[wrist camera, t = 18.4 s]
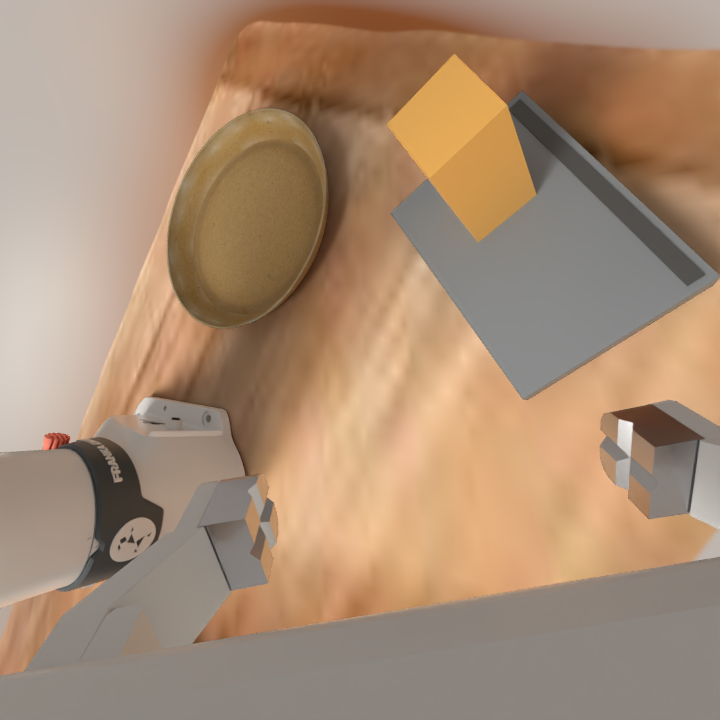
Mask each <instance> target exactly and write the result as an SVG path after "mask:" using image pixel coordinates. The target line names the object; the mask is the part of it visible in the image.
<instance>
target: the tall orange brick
mask: <svg viewBox="0 0 720 720" xmlns="http://www.w3.org/2000/svg"><path fill="white" fill-rule="evenodd" d="M387 126H388V127H389V129H390V130H391V131H392V133H393V134H394V135H395V137H396V138H397V139H398V141H399V142H400V143H401V144H402V146H403V147H404V148H405V150H406V151H407V152H408V154H409V155H410V156H411V158H412V159H413V160H414V162H415V163H416V164H417V165H418V167H419V168H420V169H421V171H422V172H423V173H424V175H425V176H426V177H427V179H428V180H429V181H430V182H431V184H432V185H433V186H434V188H435V189H436V190H437V192H438V193H439V194H440V196H441V197H442V198H443V199H444V201H445V202H446V203H447V204H448V206H449V207H450V208H451V209H452V211H453V212H454V213H455V214H456V216H457V217H458V218H459V219H460V221H461V222H462V223H463V224H464V226H465V227H466V228H467V229H468V230H469V232H470V233H471V234H472V235H473V237H474V238H475V239H476V240H477V242H480V241H481V240H482V239H483V238H485V237H486V236H487V235H488V234H489V233H491V232H492V231H493V230H494V229H496V228H497V227H498V226H499V225H500V224H502V223H503V222H504V221H505V220H506V219H508V218H509V217H510V216H511V215H513V214H514V213H515V212H516V211H517V210H519V209H520V208H521V207H522V206H524V205H525V204H526V203H527V202H528V201H530V200H531V199H532V198H533V197H535V196H536V195H537V194H536V191H535V188H534V185H533V182H532V179H531V176H530V173H529V170H528V167H527V164H526V161H525V158H524V155H523V151H522V148H521V145H520V142H519V139H518V136H517V133H516V130H515V127H514V124H513V121H512V118H511V115H510V111H509V108H508V105H507V104H506V103H505V102H504V101H503V100H502V99H500V98H499V97H498V96H497V95H496V94H495V93H494V92H493V91H492V90H491V89H490V88H489V87H488V86H487V85H486V84H485V83H484V82H483V81H482V80H481V79H480V78H479V77H478V76H477V75H476V74H475V73H474V72H473V71H472V70H471V69H470V68H469V67H468V66H466V65H465V64H464V63H463V62H462V61H461V60H460V59H459V58H458V57H457V56H456V55H455V54H454V55H453V56H452V57H451V58H450V59H449V60H448V61H447V62H446V63H445V64H444V65H443V66H442V67H441V68H440V69H439V70H438V71H437V72H436V73H435V74H434V75H433V77H432V78H431V79H430V80H429V81H428V82H427V83H426V84H425V85H424V86H423V87H422V88H421V89H420V90H419V91H418V92H417V93H416V94H415V95H414V96H413V97H412V98H411V100H410V101H409V102H408V103H407V104H406V105H405V106H404V107H403V108H402V109H401V110H400V111H399V112H398V113H397V114H396V115H395V116H394V117H393V118H392V119H391V120H390V121H389V122H388V124H387Z"/></svg>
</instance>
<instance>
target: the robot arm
mask: <svg viewBox="0 0 720 720" xmlns="http://www.w3.org/2000/svg"><path fill="white" fill-rule="evenodd" d="M600 430H601V431H602V432H603V433H604V434H605V435H606V436H607V437H606V438H605V439H604V441H603V442H602V443H601V445H600V459H601V463H602V466H603V469H604V471H605V472H606V474H607V476H608V477H609V478H610V480H611V481H612V482H613V483H614V484H615V485H617V486H620V487H622V488H624V489H627V490H628V498H629V499H630V501H631V502H632V503H633V504H634V505H635V506H636V507H637V508H638V509H639V510H640V511H641V512H642V513H643V514H644V515H645V516H646V517H647V518H648V519H653V518H660V517H667V516H674V515H681V514H688V513H690V516H692V517H694V518H696V519H698V520H700V521H702V522H704V523H707V524H709V525H711V526H713V527H715V528H717V529H719V530H720V427H719V426H717V425H716V424H714V423H712V422H711V421H709V420H707V419H706V418H704V417H702V416H700V415H699V414H697V413H695V412H694V411H692V410H690V409H689V408H687V407H685V406H684V405H682V404H680V403H679V402H677V401H672V400H667V401H662V402H657V403H653V404H648V405H645V406H640V407H635V408H629V409H624V410H619V411H614V412H609V413H604V414H603V416H602V418H601V427H600ZM69 440H70V436H68V435H66V434H61V433H52V434H51V433H49V434H48V435H47V434H46V435H45V436H44V446H43V449H42V450H34V451H19V452H18V451H17V452H1V453H0V608H2V607H5V606H8V605H11V604H14V603H17V602H20V601H22V600H25V599H28V598H31V597H34V596H37V595H40V594H43V593H46V592H49V591H52V590H55V589H56V590H58V591H63V592H66V591H70V590H74V589H78V588H79V589H81V588H86V587H89V586H92V585H94V584H95V583H98V582H101V581H104V580H107V579H108V580H107V581H106V582H104V583H103V584H102V585H100V586H99V587H98V588H97V589H95V590H94V591H93V592H92V593H90V594H89V595H88V596H86V597H85V598H84V599H83V600H81V601H80V602H79V603H78V604H76V605H75V606H74V607H73V608H71V609H70V610H69V611H67V612H66V613H65V614H64V615H63V616H62V617H61V618H60V620H59V621H58V623H57V624H56V626H55V627H54V629H53V630H52V632H51V633H50V635H49V636H48V637H47V639H46V640H45V642H44V643H43V645H42V646H41V648H40V649H39V651H38V652H37V654H36V655H35V656H34V658H33V659H32V661H31V662H30V664H29V665H28V667H27V668H26V670H25V671H24V672H19V673H13V674H7V675H1V676H0V720H720V557H716V558H711V559H704V560H698V561H692V562H686V563H680V564H674V565H668V566H661V567H655V568H649V569H643V570H637V571H631V572H625V573H619V574H613V575H607V576H600V577H594V578H588V579H582V580H576V581H570V582H564V583H558V584H552V585H546V586H540V587H534V588H528V589H522V590H516V591H510V592H504V593H498V594H492V595H486V596H480V597H474V598H468V599H462V600H456V601H450V602H444V603H438V604H432V605H426V606H420V607H414V608H408V609H402V610H396V611H390V612H384V613H377V614H371V615H365V616H359V617H353V618H347V619H341V620H335V621H329V622H323V623H317V624H311V625H305V626H299V627H292V628H286V629H280V630H274V631H268V632H262V633H256V634H250V635H244V636H238V637H232V638H226V639H220V640H214V641H207V642H201V643H195V644H192V643H193V642H194V640H195V639H196V638H197V637H198V635H199V634H200V633H201V631H202V630H203V629H204V627H205V626H206V625H207V624H208V622H209V621H210V620H211V618H212V617H213V616H214V614H215V613H216V612H217V610H218V609H219V608H220V607H221V605H222V604H223V603H224V601H225V600H226V599H227V597H228V596H229V595H230V594H231V591H232V590H237V589H242V588H247V587H252V586H257V585H262V584H267V583H268V582H269V577H270V573H271V568H272V563H273V556H272V553H271V548H272V547H273V546H274V545H275V544H276V543H277V537H278V518H277V512H276V508H275V505H274V502H272V501H271V500H269V499H268V498H267V494H268V490H269V486H268V484H267V481H266V478H265V476H264V475H262V474H256V475H250V476H245V471H244V467H243V463H242V460H241V457H240V455H239V452H238V450H237V448H236V446H235V444H234V442H233V439H232V436H231V429H230V422H229V418H228V414H227V412H226V411H225V410H224V409H221V408H215V407H210V406H204V405H198V404H193V403H187V402H181V401H176V400H170V399H164V398H159V397H145V398H144V399H143V400H142V401H141V403H140V404H139V406H138V407H137V409H136V411H135V413H134V415H116V416H111V417H110V418H108V419H107V420H106V421H105V422H104V423H103V424H102V425H101V427H100V428H99V430H98V431H97V432H96V434H95V435H94V437H93V438H90V439H81V440H77V441H76V442H73V443H69ZM68 443H69V444H68Z"/></svg>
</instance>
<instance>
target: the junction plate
mask: <svg viewBox="0 0 720 720" xmlns="http://www.w3.org/2000/svg"><path fill="white" fill-rule="evenodd" d="M507 105H508V108H509V111H510V115H511V118H512V121H513V124H514V127H515V130H516V133H517V136H518V139H519V142H520V145H521V148H522V151H523V155H524V158H525V161H526V164H527V167H528V170H529V173H530V176H531V179H532V182H533V185H534V188H535V191H536V194H537V195H536V196H535V197H533V198H532V199H531V200H530V201H528V202H527V203H526V204H525V205H524V206H522V207H521V208H520V209H519V210H517V211H516V212H515V213H514V214H513V215H511V216H510V217H509V218H508V219H506V220H505V221H504V222H503V223H502V224H500V225H499V226H498V227H497V228H496V229H494V230H493V231H492V232H491V233H489V234H488V235H487V236H486V237H485V238H483V239H482V240H481V241H480V242H477V240H476V239H475V238H474V237H473V235H472V234H471V233H470V232H469V230H468V229H467V228H466V227H465V226H464V224H463V223H462V222H461V221H460V219H459V218H458V217H457V216H456V214H455V213H454V212H453V211H452V209H451V208H450V207H449V206H448V204H447V203H446V202H445V201H444V199H443V198H442V197H441V196H440V194H439V193H438V192H437V190H436V189H435V188H434V186H433V185H432V184H431V182H430V181H429V180H428V179H427V180H426V181H424V182H423V183H422V184H421V185H420V186H419V187H418V188H417V189H416V190H415V191H414V192H413V193H412V194H411V195H409V196H408V197H407V198H406V199H405V200H404V201H403V202H402V203H401V204H400V205H399V206H398V207H397V208H396V209H394V210H393V211H392V212H391V215H392V216H393V217H394V219H395V220H396V222H397V223H398V224H399V226H400V227H401V229H402V230H403V232H404V233H405V234H406V236H407V237H408V239H409V240H410V241H411V243H412V244H413V246H414V247H415V248H416V250H417V251H418V253H419V254H420V255H421V257H422V258H423V260H424V261H425V262H426V264H427V265H428V267H429V268H430V270H431V271H432V272H433V274H434V275H435V277H436V278H437V279H438V281H439V282H440V284H441V285H442V286H443V288H444V289H445V291H446V292H447V293H448V295H449V296H450V298H451V299H452V300H453V302H454V303H455V305H456V306H457V308H458V309H459V310H460V312H461V313H462V315H463V316H464V317H465V319H466V320H467V322H468V323H469V324H470V326H471V327H472V329H473V330H474V331H475V333H476V334H477V336H478V337H479V338H480V340H481V341H482V343H483V344H484V346H485V347H486V348H487V350H488V351H489V353H490V354H491V355H492V357H493V358H494V360H495V361H496V362H497V364H498V365H499V367H500V368H501V369H502V371H503V372H504V374H505V375H506V377H507V378H508V379H509V381H510V382H511V384H512V385H513V386H514V388H515V389H516V391H517V392H518V393H519V395H520V396H521V398H522V399H524V400H528V399H530V398H532V397H533V396H535V395H536V394H538V393H540V392H541V391H543V390H545V389H546V388H548V387H549V386H551V385H553V384H554V383H556V382H557V381H559V380H561V379H562V378H564V377H566V376H567V375H569V374H570V373H572V372H574V371H575V370H577V369H579V368H580V367H582V366H583V365H585V364H587V363H588V362H590V361H592V360H593V359H595V358H596V357H598V356H600V355H601V354H603V353H604V352H606V351H608V350H609V349H611V348H613V347H614V346H616V345H617V344H619V343H621V342H622V341H624V340H626V339H627V338H629V337H630V336H632V335H634V334H635V333H637V332H638V331H640V330H642V329H643V328H645V327H647V326H648V325H650V324H651V323H653V322H655V321H656V320H658V319H660V318H661V317H663V316H664V315H666V314H668V313H669V312H671V311H672V310H674V309H676V308H677V307H679V306H681V305H682V304H684V303H685V302H687V301H689V300H690V299H692V298H694V297H695V296H697V295H698V294H700V293H702V292H703V291H705V290H706V289H708V288H710V287H711V286H713V285H714V284H715V282H716V281H717V280H718V279H719V278H720V275H719V274H718V273H717V272H716V271H715V270H714V269H713V268H712V267H710V266H709V265H708V264H707V263H706V262H705V261H704V260H703V259H702V258H701V257H700V256H699V255H698V254H697V253H695V252H694V251H693V250H692V249H691V248H690V247H689V246H688V245H687V244H686V243H685V242H684V241H683V240H682V239H681V238H679V237H678V236H677V235H676V234H675V233H674V232H673V231H672V230H671V229H670V228H669V227H668V226H667V225H666V224H664V223H663V222H662V221H661V220H660V219H659V218H658V217H657V216H656V215H655V214H654V213H653V212H652V211H651V210H650V209H648V208H647V207H646V206H645V205H644V204H643V203H642V202H641V201H640V200H639V199H638V198H637V197H636V196H635V195H633V194H632V193H631V192H630V191H629V190H628V189H627V188H626V187H625V186H624V185H623V184H622V183H621V182H620V181H619V180H617V179H616V178H615V177H614V176H613V175H612V174H611V173H610V172H609V171H608V170H607V169H606V168H605V167H604V166H602V165H601V164H600V163H599V162H598V161H597V160H596V159H595V158H594V157H593V156H592V155H591V154H590V153H589V152H587V151H586V150H585V149H584V148H583V147H582V146H581V145H580V144H579V143H578V142H577V141H576V140H575V139H574V138H573V137H571V136H570V135H569V134H568V133H567V132H566V131H565V130H564V129H563V128H562V127H561V126H560V125H559V124H558V123H556V122H555V121H554V120H553V119H552V118H551V117H550V116H549V115H548V114H547V113H546V112H545V111H544V110H543V109H542V108H540V107H539V106H538V105H537V104H536V103H535V102H534V101H533V100H532V99H531V98H530V97H529V96H528V95H527V94H525V93H524V92H523V91H521V92H520V93H519V94H518V95H517V96H516V97H515V98H513V99H512V100H511V101H510V102H509V103H508V104H507Z"/></svg>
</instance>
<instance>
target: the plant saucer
mask: <svg viewBox="0 0 720 720" xmlns="http://www.w3.org/2000/svg"><path fill="white" fill-rule="evenodd" d="M328 203H329V187H328V176H327V170H326V165H325V161H324V158H323V154H322V151H321V149H320V146H319V144H318V142H317V140H316V138H315V136H314V134H313V133H312V131H311V130H310V128H309V127H308V126H307V125H306V124H305V123H304V122H303V121H302V120H301V119H300V118H298V117H297V116H295V115H294V114H292V113H290V112H287V111H284V110H281V109H275V108H264V109H258V110H254V111H250V112H247V113H245V114H242V115H240V116H238V117H237V118H235V119H233V120H232V121H230V122H229V123H227V124H226V125H224V126H223V127H222V128H221V129H220V130H218V131H217V132H216V133H215V134H214V135H213V136H212V137H211V138H210V139H209V140H208V141H207V143H206V144H205V145H204V146H203V147H202V149H201V150H200V151H199V152H198V154H197V155H196V157H195V159H194V160H193V162H192V163H191V165H190V167H189V168H188V170H187V172H186V174H185V176H184V178H183V180H182V182H181V185H180V187H179V189H178V192H177V195H176V198H175V201H174V204H173V207H172V211H171V215H170V220H169V226H168V233H167V265H168V272H169V276H170V281H171V284H172V287H173V290H174V293H175V295H176V297H177V299H178V301H179V302H180V304H181V306H182V307H183V308H184V309H185V311H186V312H187V313H188V314H189V315H190V316H191V317H192V318H194V319H195V320H196V321H198V322H199V323H201V324H203V325H206V326H209V327H212V328H218V329H230V328H236V327H241V326H244V325H247V324H250V323H253V322H255V321H257V320H259V319H261V318H263V317H264V316H266V315H268V314H269V313H271V312H272V311H273V310H275V309H276V308H277V307H279V306H280V305H281V304H282V303H283V302H284V301H285V300H286V299H287V298H288V297H289V296H290V295H291V294H292V293H293V292H294V290H295V289H296V288H297V287H298V285H299V284H300V283H301V281H302V280H303V278H304V277H305V275H306V274H307V272H308V270H309V269H310V267H311V265H312V263H313V261H314V259H315V257H316V254H317V252H318V249H319V247H320V244H321V241H322V238H323V234H324V230H325V226H326V220H327V214H328Z"/></svg>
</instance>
